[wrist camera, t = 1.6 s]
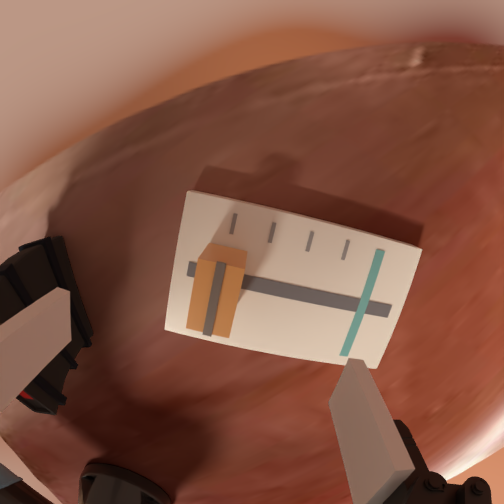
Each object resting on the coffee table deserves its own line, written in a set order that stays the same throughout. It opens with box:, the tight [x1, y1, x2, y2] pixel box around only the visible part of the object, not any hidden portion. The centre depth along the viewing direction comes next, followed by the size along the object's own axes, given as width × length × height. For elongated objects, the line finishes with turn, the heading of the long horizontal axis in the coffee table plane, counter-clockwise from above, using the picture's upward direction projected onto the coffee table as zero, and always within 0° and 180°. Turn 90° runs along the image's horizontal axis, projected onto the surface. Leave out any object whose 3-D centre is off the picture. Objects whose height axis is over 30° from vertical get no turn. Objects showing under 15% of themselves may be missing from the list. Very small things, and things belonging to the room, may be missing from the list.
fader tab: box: [186, 243, 247, 338], centre depth 22 cm, size 5×3×5 cm, turn 167°
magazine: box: [0, 236, 93, 415], centre depth 22 cm, size 4×13×15 cm, turn 11°
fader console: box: [165, 190, 422, 369], centre depth 26 cm, size 12×20×2 cm, turn 77°
